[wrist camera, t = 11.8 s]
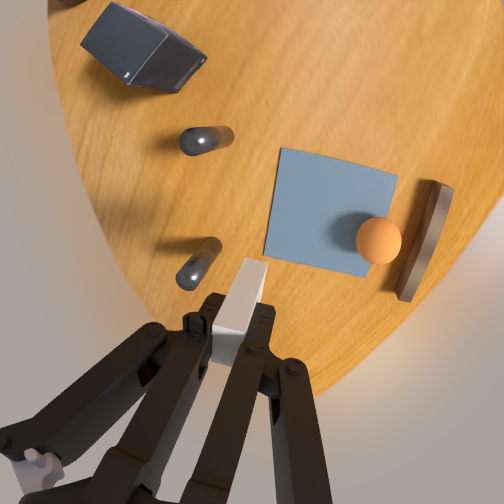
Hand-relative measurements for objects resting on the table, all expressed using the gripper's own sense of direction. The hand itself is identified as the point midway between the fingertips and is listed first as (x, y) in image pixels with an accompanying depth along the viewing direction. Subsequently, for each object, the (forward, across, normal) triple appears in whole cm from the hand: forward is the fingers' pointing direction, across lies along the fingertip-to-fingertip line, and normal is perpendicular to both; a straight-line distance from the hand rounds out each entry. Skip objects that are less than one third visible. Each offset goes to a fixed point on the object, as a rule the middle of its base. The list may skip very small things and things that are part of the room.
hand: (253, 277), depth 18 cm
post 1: (+16, -8, +7) cm, 20 cm away
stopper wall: (+16, +19, 0) cm, 25 cm away
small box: (+17, -17, +18) cm, 30 cm away
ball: (+14, +12, -1) cm, 18 cm away
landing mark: (+16, +6, 0) cm, 17 cm away
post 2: (+16, -8, -7) cm, 20 cm away
